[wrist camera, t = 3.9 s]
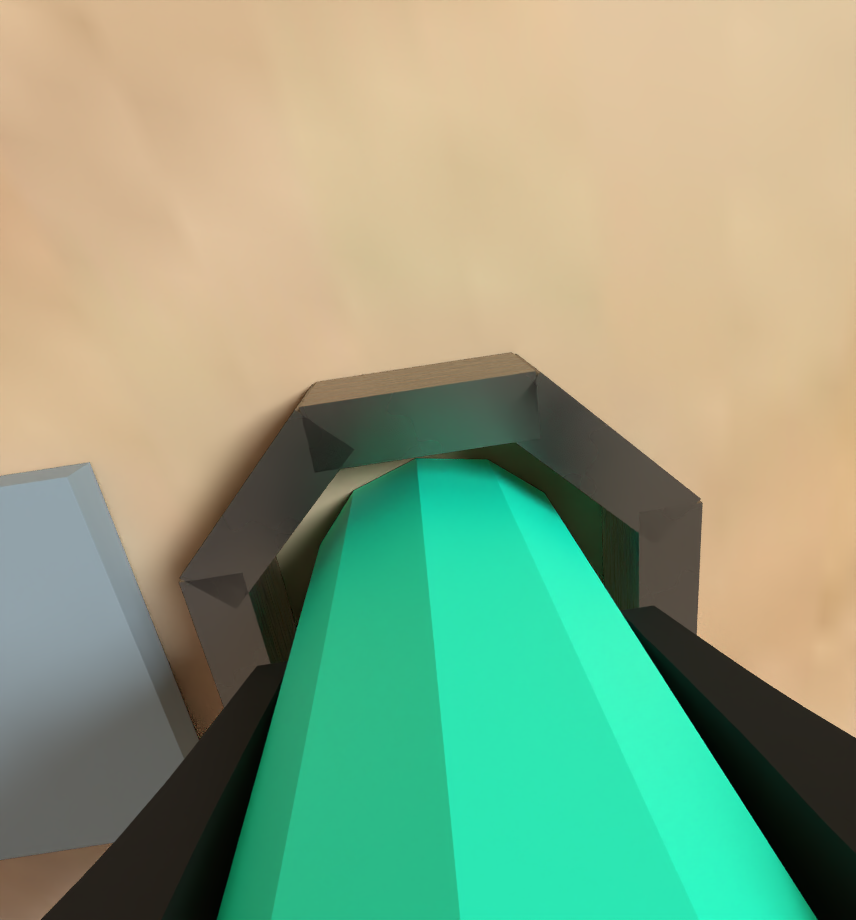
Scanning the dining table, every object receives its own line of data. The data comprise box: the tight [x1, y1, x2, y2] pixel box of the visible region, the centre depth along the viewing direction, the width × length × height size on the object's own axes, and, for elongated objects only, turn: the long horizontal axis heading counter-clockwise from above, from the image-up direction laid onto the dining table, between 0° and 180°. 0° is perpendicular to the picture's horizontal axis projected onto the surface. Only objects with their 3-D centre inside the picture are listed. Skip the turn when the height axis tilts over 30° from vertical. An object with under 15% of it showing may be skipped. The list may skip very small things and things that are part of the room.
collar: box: [179, 352, 702, 708], centre depth 12 cm, size 10×10×2 cm
